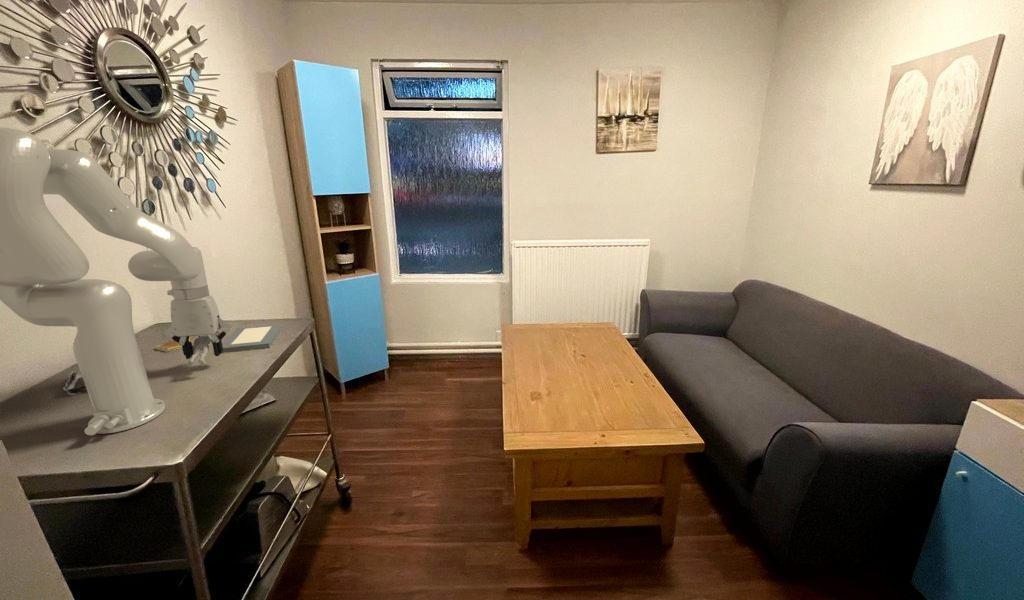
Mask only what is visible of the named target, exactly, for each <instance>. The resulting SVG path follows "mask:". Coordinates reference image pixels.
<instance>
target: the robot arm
mask: <svg viewBox="0 0 1024 600" xmlns="http://www.w3.org/2000/svg"><path fill="white" fill-rule="evenodd" d="M44 195H59V196H60V197H62V198H63V200H65V201H66V202H67V203H68V204H70V206H71V207H72V208H73V209H74V210H76V212H77V213H78V214H80V216H82V218H83V219H84V220H85V221H86V222H87V223H88V224H89V225H90V226H91V227H92V228H93V229H94V230H96V231H97V232H100V233H101V234H104V235H106V236H109V237H112V238H115V239H119V240H122V241H125V242H129V243H134V244H136V245H140V246H143V247H145V248H147V249H150V250H143V251H140V252H137V253H135V254H134V255H132V256H131V257H130V259H129V261H128V263H127V264H128V265H127V268H128V271H129V273H130V275H132V276H133V277H134V278H136V279H139V280H142V281H146V282H170V285H171V286H170V287H171V289H169V290H167V291H166V295H167V296H172V298H173V299H171V300H170V320H171V325H170V326H169V327H168V328H167V330H166V331H164V335H165V336H167V337H168V338H170V339H172V341H173V340H174V341H176V342H178V343H179V345H181V346H182V352H183V356H184V357H185V359H186V360H190V359H191V356H192V355H193V350H192V346H193V342H192V341H189V338H190V336H191V337H195V336H196V337H198V336H200V335H210V336H211V337H212V339H213V340H214V343H213V344H212V348H213V354H214V356H215V357H219V356H220V355H221V354H223V353H222V351H223V346H222V343H223V342H222V340H223V339H224V338H225V336H226V335H227V334H228V333H229V332H230V331H231V330H232V329H233V326H232V325H231V324H229V323H228V322H227V321H225V320H223V319H222V318H221V315H220V311H219V308H218V305H217V303H216V301H215V298H214V297H213V295H210V290H209V285H208V280H207V276H206V275H207V274H206V269H205V264H204V260H203V254H202V251H201V249H199V248H198V247H196V246H192V244H191V243H190V242H189V241H188V240H187V239H186V238H185V237H184V236H183V235H182V234H181V233H180V232H178V230H176V229H174V228H172V227H171V226H169V225H167V224H165V223H164V222H162V221H160V220H159V219H156V218H155V217H153V216H151V215H149V214H147V213H145V212H143V211H142V210H140V209H139V208H138V207H137V206H136V205H135V204H134V202H132V200H131V199H130V198H129V197H128V196H127V195H126V194H125V192H124V191H123V190H122V188H120V187H119V185H118V184H117V183H116V181H114V180H113V179H112V177H111V176H110V175H109V174H108V173H107V172H106V170H105V169H104V168H103V167H102V166H101V164H100V163H98V162H97V160H96V159H94V158H93V157H92V156H90V155H89V154H87V153H84V152H82V151H79V150H75V149H63V148H61V149H59V148H58V149H57V148H56V149H54V148H52V149H50V148H47V146H46V145H45V143H44V142H43V141H42V140H41V139H40V138H38V137H37V136H35V135H34V134H32V133H30V132H28V131H25V130H21V129H16V128H11V127H0V301H1V303H3V304H4V305H5V306H6V307H8V308H9V309H10V310H11V311H12V312H13V313H14V314H16V315H17V316H18V317H19V318H20V319H23V320H24V321H26V322H28V323H30V324H32V325H36V326H41V327H75V328H76V330H77V332H76V334H75V338H74V341H73V345H72V349H73V355H74V357H75V358H74V359H75V361H76V362H77V365H78V369H79V372H81V375H82V377H81V378H82V380H83V383H84V386H86V389H87V392H86V393H87V395H88V396H89V397H88V398H89V400H90V402H91V403H90V404H91V406H92V408H93V413H92V415H93V417H92V418H91V419H90V420H89V421H88V423H87V427H86V428H84V434H86V435H87V436H95V435H96V434H103V435H104V434H105V435H106V434H112V433H118V432H123V431H126V430H131V429H133V428H135V427H139V426H141V425H144V424H146V423H148V422H151V421H152V420H154V419H155V418H157V417H159V415H161V414H162V413H163V412H164V411H165V408H166V405H165V401H164V400H163V399H160V398H155V397H154V396H153V392H152V388H151V385H150V381H149V377H148V375H147V371H146V367H145V365H144V362H143V357H142V354H141V351H140V347H139V346H138V342H137V338H136V334H135V330H134V326H133V325H134V324H133V313H132V312H133V305H132V304H133V303H132V297H131V295H130V293H129V291H128V290H127V289H126V288H125V287H124V286H122V285H121V284H119V283H116V282H115V281H111V280H106V279H95V278H93V279H91V278H90V279H88V278H85V279H84V277H85V276H87V274H88V272H89V270H90V261H89V260H88V257H87V255H86V254H85V252H84V251H83V250H82V248H81V247H80V246H79V245H78V244H77V243H76V241H75V240H74V239H73V238H72V237H71V235H70V234H69V233H68V231H67V230H65V228H64V227H63V226H62V225H61V224H60V222H59V221H58V220H57V219H56V217H55V216H54V215H53V214H52V213H51V210H49V208H48V206H47V205H46V202H45V198H44ZM82 278H83V279H82ZM222 328H223V330H222V331H221V332H220V329H222Z"/></svg>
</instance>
